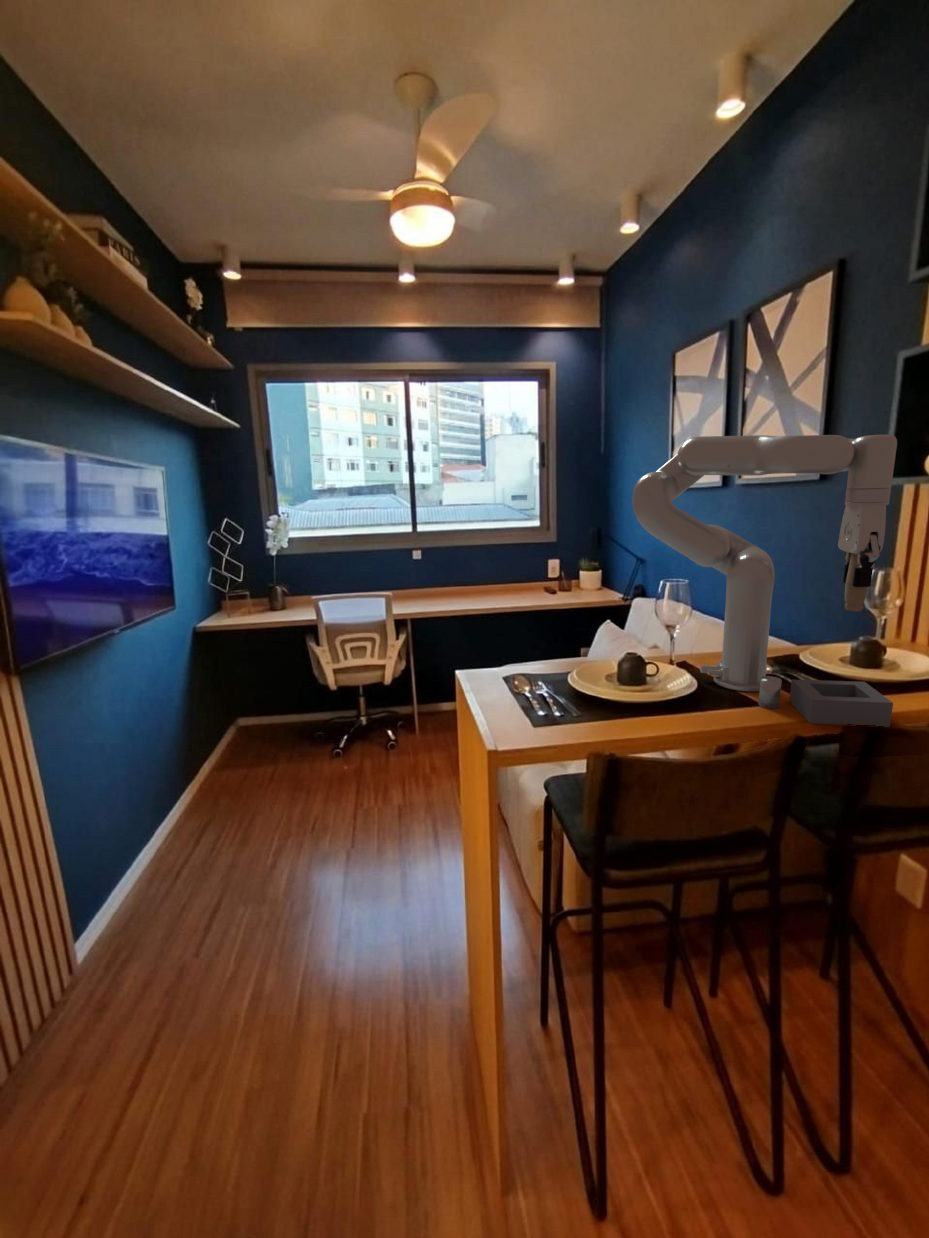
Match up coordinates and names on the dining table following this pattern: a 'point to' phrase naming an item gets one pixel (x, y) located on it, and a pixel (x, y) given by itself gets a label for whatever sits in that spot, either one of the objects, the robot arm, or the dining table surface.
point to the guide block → (840, 703)
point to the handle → (854, 594)
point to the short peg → (769, 692)
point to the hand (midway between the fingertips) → (856, 583)
